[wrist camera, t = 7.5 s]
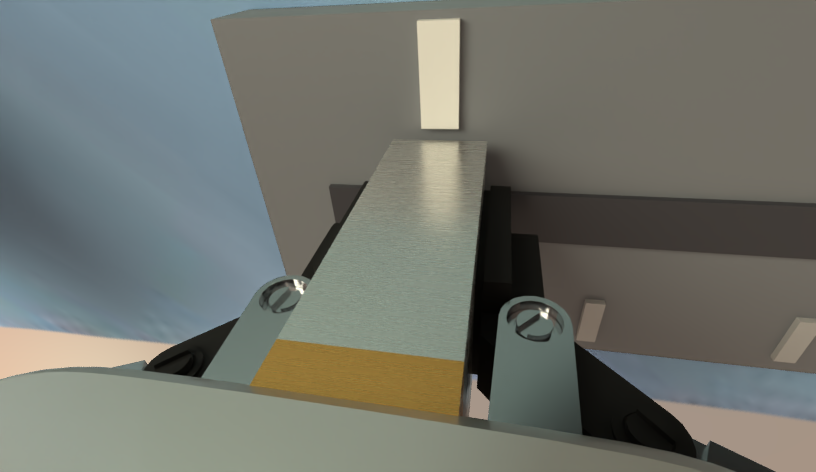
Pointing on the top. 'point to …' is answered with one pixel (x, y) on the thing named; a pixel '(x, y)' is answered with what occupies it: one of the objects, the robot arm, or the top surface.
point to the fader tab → (394, 289)
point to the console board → (570, 148)
